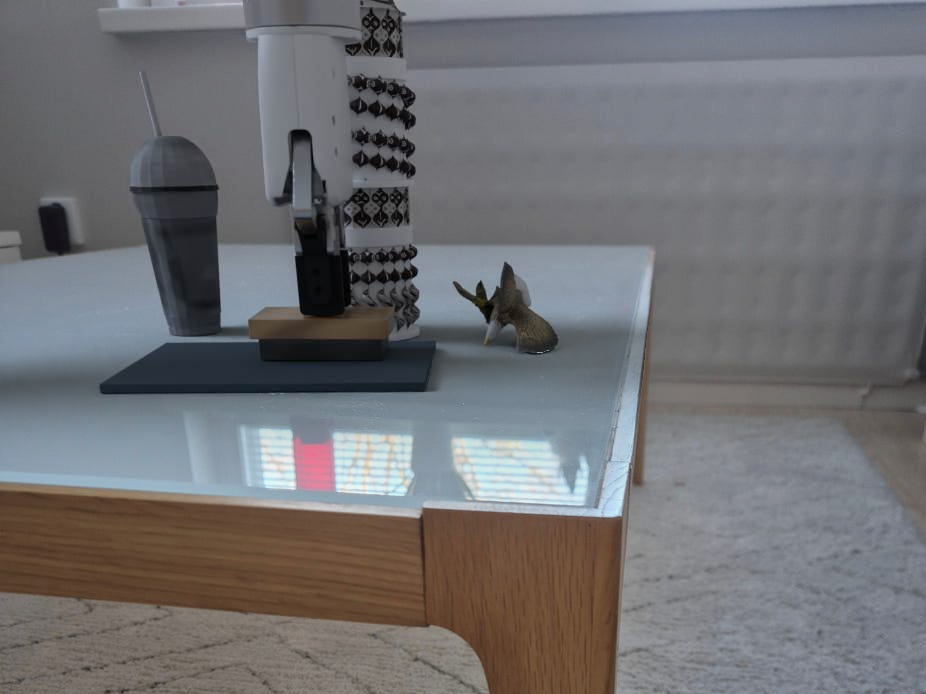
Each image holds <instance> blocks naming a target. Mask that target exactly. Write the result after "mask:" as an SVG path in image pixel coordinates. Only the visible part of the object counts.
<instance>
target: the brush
mask: <svg viewBox="0 0 926 694" xmlns="http://www.w3.org/2000/svg"><path fill="white" fill-rule="evenodd" d="M324 226H325V225H324ZM335 235H336V255H340V245H339V230H338V225H337V224H335ZM247 325H248V333H249V334H248V335H249V339H250V340H258V342H259V348H260V358H261V360H263V361H382V360H383V358H384V356H385V354H386V352H387V350H388V348H389V335H390V333H391V332H392V330H393V328H394V326H395V309H394V307H345V311H344V312H343V313H342V314H341V315H303V314H302V313H301V312H300V307H299V306H265V307H264V308H262V309H261V310H259V311H258V312H257V313H255V314H254V315H252V316H251V317H250V318H248V319H247Z"/></svg>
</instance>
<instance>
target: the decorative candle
mask: <svg viewBox="0 0 926 694" xmlns="http://www.w3.org/2000/svg"><path fill="white" fill-rule="evenodd" d="M359 1H360V19H361V35H362V42H359V43H356V44H348V45H345V51H346V64H347V77H348V90H349V104H350V119H351V137H352V160H353V193H352V196H351V197H350V198H349V199H348V200H347V201H345V202H344V203H343V212H344V224H345V236H346V249H340V250H348V257H349V271H350V286H351V300H352V301H351V304H350V305H349V306H348V307H394V309H395V326H394V328H393V330H392V332H391V333H390V335H389V341H406V340H409V339H412V338H415V337H418V336H419V335H420V326H419V325H417V324H415V323H416V321H418V320H419V319H420V314H421V310H420V308H419V307H418V306H417V305H416V303H417V301H418V300H419V298H420V290H419V289H418V288H417V287H416V286H415V284H414V283H413V282H412V280H413V279H414V278H417V276H418V275H419V274H418V273H419V269H418V267H416V265H413V263H412V262H411V261H412V260H414V259H415V258H416V257H417V255H418V253H419V250H418V248H416V247H415V246H414V245H412V244H413V243H414V235H413V233H414V232H413V223H411V218H410V195H409V191H410V187H414V186H415V180H414V178H412V177H414V176H415V175H416V173H417V169H416V166H415V165H414V164H413V163H411V162H410V161H409V158H410V157H411V156H413V155H414V153H415V152H416V145H415V144H414V143H413V142H411V141H410V140H409V139H408V137H407V138H406V131H408V132H407V133H408V134H409V132H410V129H412V128H413V127H415V125H416V124H417V117H416V116H415V114H413V113H412V112H411V111H410V110H409V108H410V107H412V105H414V103H415V101H416V99H417V97H416V94H415V92H414V91H412V90H411V88H409V86H408V85H405V84H406V82H407V81H408V77H407V76H408V75H407V72H408V71H407V60H406V59H405V58H404V35H403V34H404V33H403V17H407V13H406V12H405V11H401V10H400V9H399V8H398V7H397V5H396V3H395V2H394V0H359ZM317 201H320V199H317Z"/></svg>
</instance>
